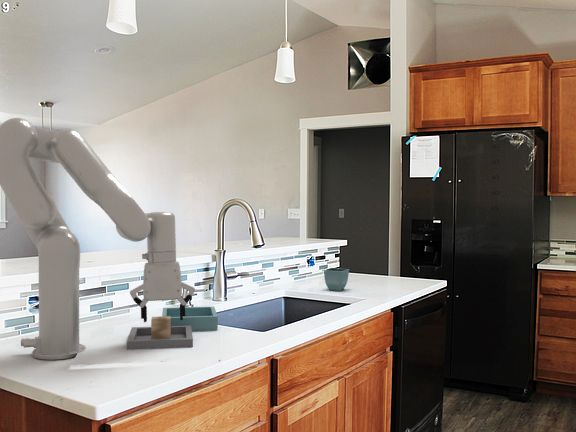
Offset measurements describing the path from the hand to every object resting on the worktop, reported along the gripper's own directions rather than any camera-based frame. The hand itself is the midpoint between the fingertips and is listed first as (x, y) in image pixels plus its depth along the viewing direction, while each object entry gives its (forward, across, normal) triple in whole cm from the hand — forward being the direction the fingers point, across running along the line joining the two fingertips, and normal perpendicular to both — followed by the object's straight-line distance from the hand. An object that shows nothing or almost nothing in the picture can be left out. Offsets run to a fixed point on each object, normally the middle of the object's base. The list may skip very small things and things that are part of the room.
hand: (163, 320), depth 158 cm
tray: (+7, +7, +18) cm, 20 cm away
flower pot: (+9, +72, +84) cm, 111 cm away
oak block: (+5, -1, 0) cm, 5 cm away
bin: (+6, -1, 0) cm, 6 cm away
